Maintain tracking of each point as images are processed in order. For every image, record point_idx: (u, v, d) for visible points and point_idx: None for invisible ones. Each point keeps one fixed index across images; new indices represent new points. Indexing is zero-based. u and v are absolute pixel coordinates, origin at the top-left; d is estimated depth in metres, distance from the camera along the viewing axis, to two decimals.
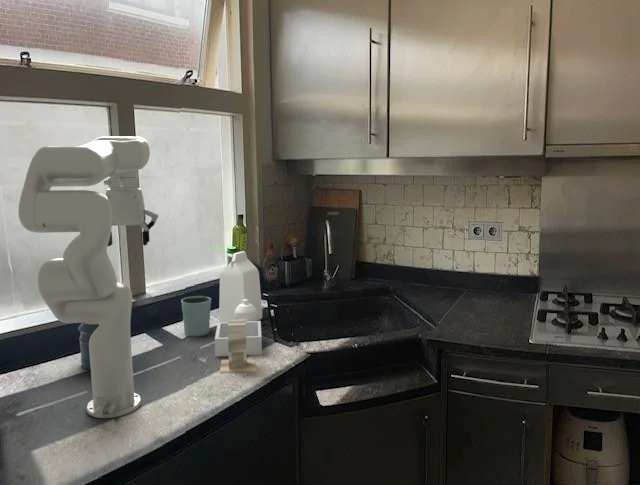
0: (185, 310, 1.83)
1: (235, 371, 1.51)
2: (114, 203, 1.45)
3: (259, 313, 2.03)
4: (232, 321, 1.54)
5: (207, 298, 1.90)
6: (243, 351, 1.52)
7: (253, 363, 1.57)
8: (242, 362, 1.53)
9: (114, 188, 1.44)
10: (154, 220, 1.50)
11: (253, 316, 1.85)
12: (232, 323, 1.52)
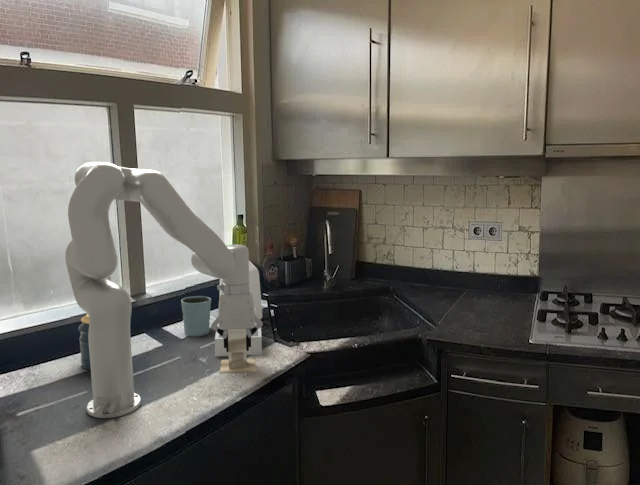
0: (185, 310, 1.83)
1: (235, 371, 1.51)
2: (228, 309, 1.49)
3: (259, 313, 2.03)
4: None
5: (207, 298, 1.90)
6: (243, 351, 1.52)
7: (253, 363, 1.57)
8: (242, 362, 1.53)
9: (229, 295, 1.48)
10: (258, 327, 1.54)
11: None
12: None
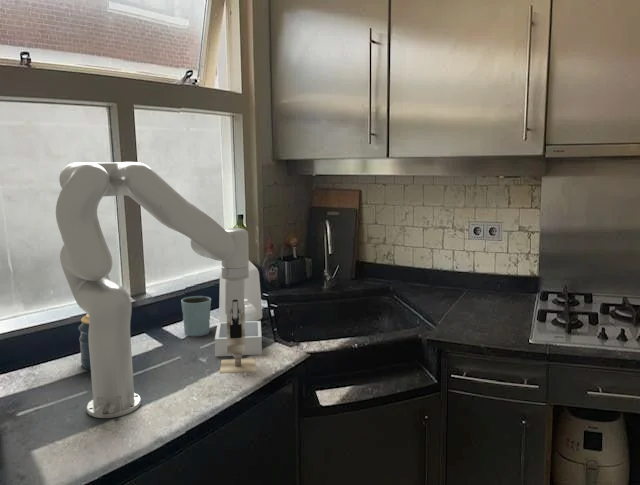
0: (185, 310, 1.83)
1: (235, 371, 1.51)
2: None
3: (259, 313, 2.03)
4: None
5: (207, 298, 1.90)
6: (227, 335, 1.51)
7: (253, 363, 1.57)
8: None
9: None
10: None
11: (253, 316, 1.85)
12: None
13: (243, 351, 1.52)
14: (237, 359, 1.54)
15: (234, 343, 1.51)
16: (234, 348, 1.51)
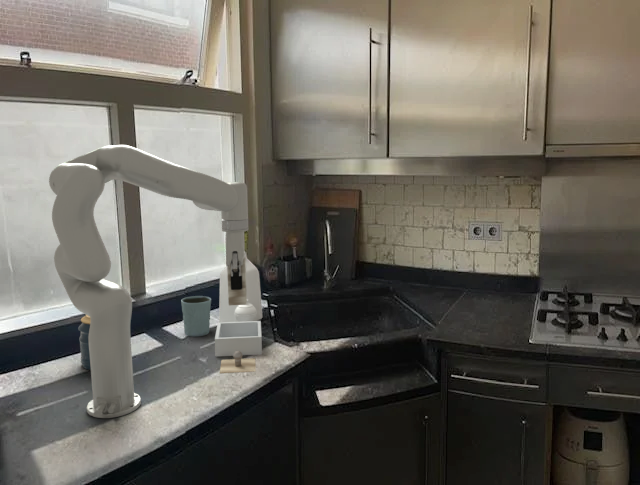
0: (185, 310, 1.83)
1: (235, 371, 1.51)
2: None
3: (259, 313, 2.03)
4: None
5: (207, 298, 1.90)
6: (228, 287, 1.55)
7: (253, 363, 1.57)
8: None
9: None
10: None
11: (253, 316, 1.85)
12: None
13: (244, 303, 1.55)
14: (237, 359, 1.54)
15: (235, 295, 1.54)
16: (235, 300, 1.55)
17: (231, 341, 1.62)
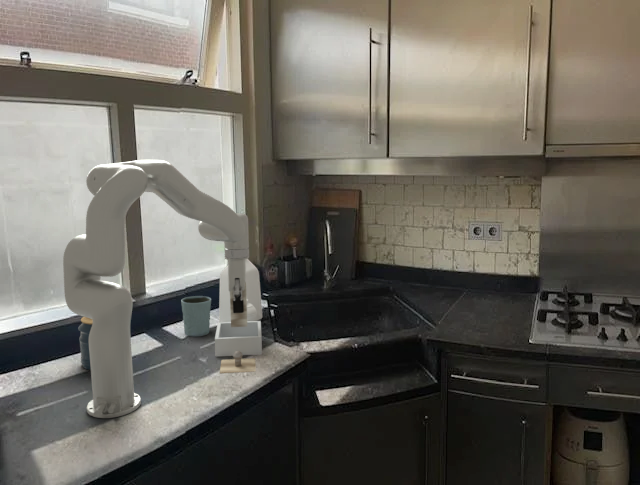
0: (185, 310, 1.83)
1: (235, 371, 1.51)
2: None
3: (259, 313, 2.03)
4: None
5: (207, 298, 1.90)
6: (230, 310, 1.67)
7: (253, 363, 1.57)
8: None
9: None
10: (235, 294, 1.62)
11: (253, 316, 1.85)
12: None
13: (245, 324, 1.68)
14: (237, 359, 1.54)
15: (237, 317, 1.67)
16: (237, 322, 1.67)
17: (231, 341, 1.62)
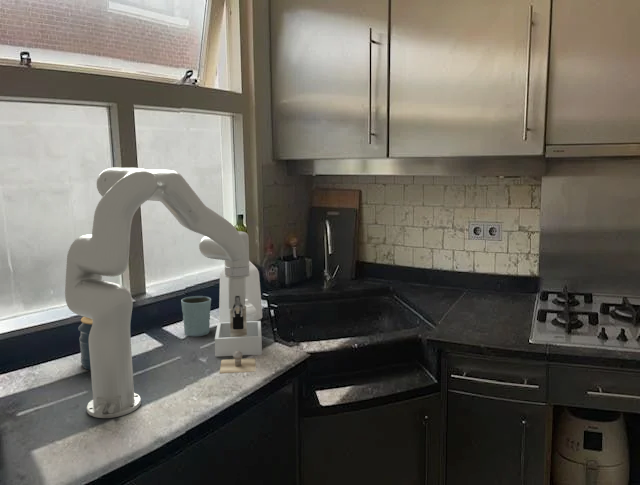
0: (185, 310, 1.83)
1: (235, 371, 1.51)
2: None
3: (259, 313, 2.03)
4: (240, 306, 1.70)
5: (207, 298, 1.90)
6: None
7: (253, 363, 1.57)
8: None
9: None
10: (235, 310, 1.61)
11: (253, 316, 1.85)
12: None
13: None
14: (237, 359, 1.54)
15: None
16: None
17: (231, 341, 1.62)
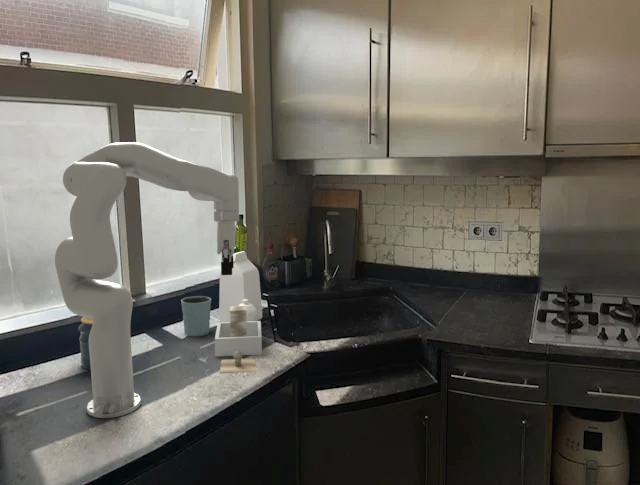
0: (185, 310, 1.83)
1: (235, 371, 1.51)
2: None
3: (259, 313, 2.03)
4: (241, 306, 1.70)
5: (207, 298, 1.90)
6: None
7: (253, 363, 1.57)
8: None
9: None
10: (223, 253, 1.56)
11: (253, 316, 1.85)
12: (236, 307, 1.70)
13: None
14: (237, 359, 1.54)
15: None
16: None
17: (231, 341, 1.62)
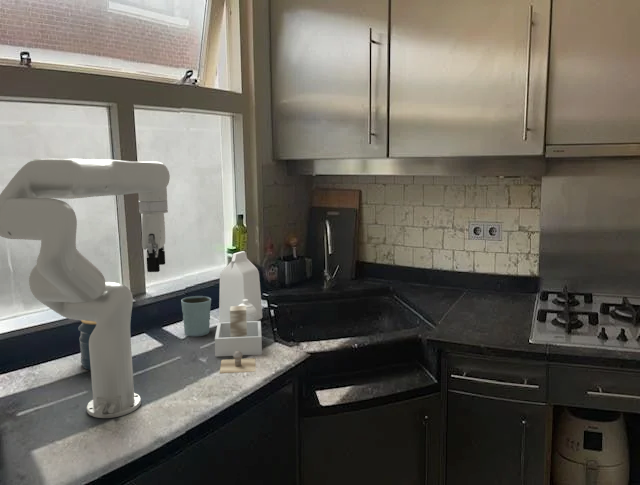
0: (185, 310, 1.83)
1: (235, 371, 1.51)
2: None
3: (259, 313, 2.03)
4: (241, 306, 1.70)
5: (207, 298, 1.90)
6: None
7: (253, 363, 1.57)
8: None
9: None
10: None
11: (253, 316, 1.85)
12: (236, 307, 1.70)
13: None
14: (237, 359, 1.54)
15: None
16: None
17: (231, 341, 1.62)
